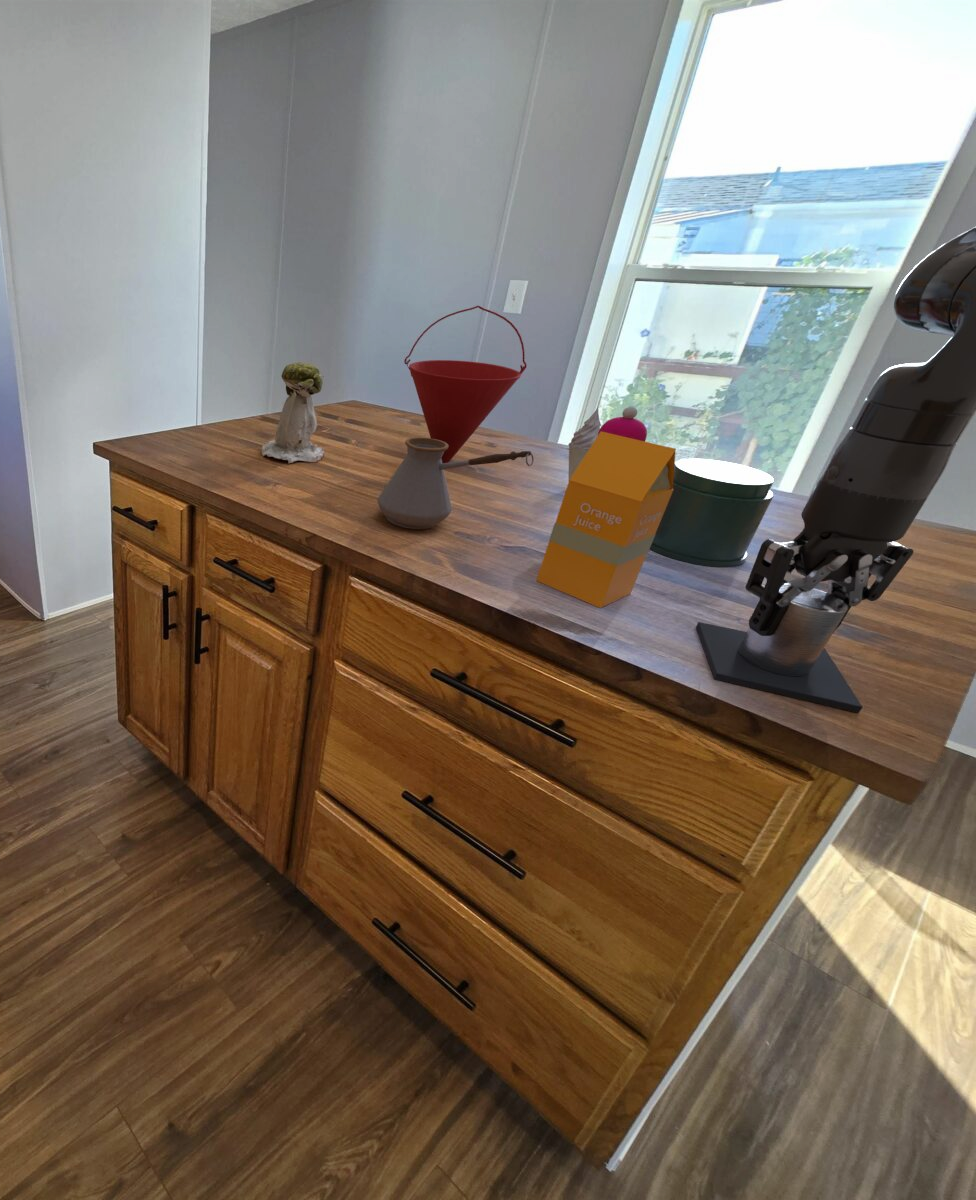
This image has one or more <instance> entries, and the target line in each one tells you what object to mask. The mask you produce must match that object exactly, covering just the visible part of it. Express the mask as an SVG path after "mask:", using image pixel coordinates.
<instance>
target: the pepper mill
mask: <svg viewBox="0 0 976 1200" xmlns="http://www.w3.org/2000/svg"><path fill="white" fill-rule="evenodd" d="M637 415H638V409H637V408H636V407H635V406H627V407H625V408H624V409H623V411H622V416H617V417H612V418H610V419H609V420H607V421H605V422H604V423H603V424H601V426H600V430H599V432H598V435H599V433H600V432H606V433H610V434H614V435H619V436H623V437H627V438H631V439H636V440H640V441H644V442H646V440H647V436H648V431H647V426H645V424H644V423H643V422H642V421H641V420H639V419H638V418H636V417H637ZM597 437H598V436H597Z"/></svg>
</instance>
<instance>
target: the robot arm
mask: <svg viewBox="0 0 976 1200" xmlns="http://www.w3.org/2000/svg"><path fill="white" fill-rule="evenodd" d="M892 304H893V307H892V308H893V313H894V316H895V318H896V319H897V321H899V323H900V324H902V325H903V326H905V327H907V328H909V329H912V330H915V331H918V332H923V333H924V332H925V333H930V334H938V335H945V336H950V339H949V340H948V341H947V342H946V343H945V344H944V345H943V346H942V347H941V348H940V349H939V350H938V351H936V353H935V354H934V355H933V356H932V357H931V358H930V359H929V360H927V361H926V362H911V363H903V364H898V365H894V366H891V367H888V368H887V369H886V370H884V371H883V372H882V373H881V374H880V375H879V376H878V377H877V378H876V380H875V381H874V383H873V384H872V386H871V388H870V390H869V392H868V393H867V395H866V397H865V400H864V401H863V403H862V405H861V407H860V408H859V411H858V412H857V414H856V416H855V418H854V420H853V422H852V424H851V426H850V427H849V429H848V431H847V432H846V434H845V435H844V436H843V438H842V439H841V441H840V442H839V443H838V445H837V446H836V447H835V449H834V451H833V453H832V454H831V456H830V458H829V460H828V461H827V464H826V465H825V468H824V469H823V471H822V473H821V475H820V477H819V478H818V481H817V483H816V484H815V486H814V488H813V490H812V492H811V494H810V496H809V498H808V500H807V502H806V503H805V506H804V508H803V509H802V511H801V518H802V520H803V525H804V527H803V529H802V530H801V531H800V533H798V535H797V536H795V537H794V538H793V540H792V541H787V542H778V541H775V540H774V539H772V538H768V539H766V540H764V541H763V542H762V544H761V545H760V548H759V550H758V553H757V556H756V558H755V561H754V564H753V566H752V568H751V572H750V573H749V576H748V579H747V581H746V585H745V590H746V591H747V592H749V593H751V594H753V596H756V597H758V598H759V600H758V603H757V604H756V606H755V608H754V610H753V612H752V613H751V616H750V618H749V619H748V628H749V627H750V629H752V630H753V631H755V632H756V633H758V634H759V635H761V636H771V635H772V634H773V633H774V631H775V629H776V627H777V626H778V624H779V622H780V620H781V618H782V617H783V615H784V613H785V611H786V609H787V607H786V606H787V605H788V604H789V603H790V602H791V601H792V600H794V599H795V598H796V597H797V596H798V595H799V594H800V593H802V592H808V591H810V590H812V589H813V588H815V587H817V586H818V585H819V584H820V583H821V582H826V581H827V593H829V594H831V595H833V596H835V597H837V598H839V599H841V600H842V601H843V602H845V603H846V604H847V606H848V610H847V611H846V613H845V614H844V616H843V618H842V619H841V621H840V623H839V624H838V626H837V628H836V629H835V631H834V633H835V632H836V630H837V629H839V627H841V624H842V622H843V621H844V620H845V618H846V616H847V615H848V613H849V611H850V610H851V608H852V607H857V606H858V605H860V604H861V602H862V601H864V600H868V601H870V602H875V601H877V600H878V599H880V598H881V596H882V595H883V594H884V593H885V591H886V589H887V588H888V587H889V586H890V585H891V584H892V582H893V581H894V580H895V579H896V577H897V576H898V574H899V573H900V572H901V570H903V568H904V566H905V565H906V564H907V563H908V561H909V560H910V558H911V557H912V556H913V554H914V549H912V548H910V547H908V546H906V545H904V544H902V543H900V542H897V541H900V540H901V539H903V538H904V536H905V535H906V533H907V532H908V531H909V528H910V527H911V525H912V524H913V522H914V521H915V519H916V517H917V516H918V514H919V513H920V511H921V509H922V508H923V506H924V504H925V503H926V501H927V499H929V497H930V495H931V493H932V492H933V490H934V488H935V487H936V485H937V484H938V482H939V480H940V479H941V477H942V475H943V474H944V472H945V471H946V468H947V466H948V464H949V461H950V459H951V456H952V454H953V451H954V450H955V448H956V446H957V443H958V442H959V441H960V439H961V437H962V436H963V434H964V433H965V431H966V429H967V428H968V426H969V424H970V423H971V421H972V420H973V418H974V416H975V415H976V226H975V227H973V228H971V229H969V230H967V231H964V232H963V233H961V234H959V235H957V236H956V237H954V238H952V239H950V240H949V241H947V242H945V243H944V244H942V245H941V246H939V247H938V248H936V249H935V250H933V251H931V252H930V253H929V254H928V255H926V256H925V258H923V259H922V260H921V261H919V263H917V264H916V265H915V266H914V267H913V269H912V270H910V272H909V273H908V274H907V275H906V276H905V277H904V279H903V280H902V281H901V283H900V285H899V287H898V288H897V290H896V292H895V295H894V298H893V303H892ZM794 570H795V571H796V572H797V574H800V575H801V576H803V577H802V578H798V577H797V576H795V575H793V574H792V573H793V572H794ZM871 576H874V577H876V579H875V580H874V581H873V583H872V584H871V586H870V585H869V579H870V578H871ZM765 579H766V581H765V584H763V583H764V580H765ZM785 583H789V584H790V586H789V587H788V588H787V589H786V590H785V591H784V592H783V593H780V592H779V589H780V587H781V586H783V585H784V584H785Z"/></svg>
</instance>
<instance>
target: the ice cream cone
mask: <svg viewBox="0 0 976 1200" xmlns="http://www.w3.org/2000/svg"><path fill="white" fill-rule="evenodd" d="M599 413H600V412H599V407H597V408H596V409H595V411H594V412H593V413H592V414H591V415H590V417H589V418H588V419H587V420H585V421H584V422H583V423H584V424H583V425H582V427H580V428H579V429H578V430H577V431H575V432H574V433H573V437H572V438H571V440H570V442H569V443H568V480H569V479H570V478H571V476H572V475H573V473H574V472H575V470H576V469H577V467H578V466H579V464H580V463H581V461H582V460H583V458H584V456H585V455H586V453H587V452H588V450H589V449H590V447H591V446H592V444H593V443H594V441H595V440H596V438H597V436H598V432H599V430H600V428H601V427H602V424H601V420H600V414H599ZM568 483H569V481H568ZM568 483H567V484H568Z"/></svg>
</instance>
